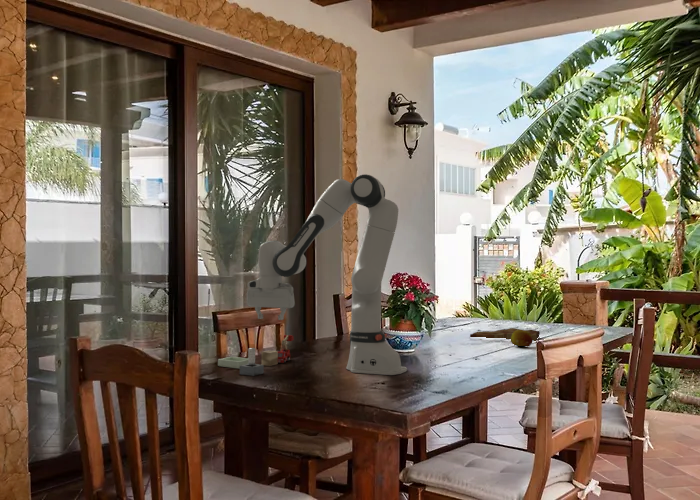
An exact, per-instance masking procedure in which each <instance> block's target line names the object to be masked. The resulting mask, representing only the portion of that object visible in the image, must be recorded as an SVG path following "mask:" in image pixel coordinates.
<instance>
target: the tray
mask: <svg viewBox="0 0 700 500" xmlns="http://www.w3.org/2000/svg"><path fill="white" fill-rule="evenodd" d="M245 364H248V357H247V358H246V357H239V356H238V357H237V356H228V357H224V358H218V359H217V366H218V367H223V368H231V369H239V370H240V366H241V365H245Z"/></svg>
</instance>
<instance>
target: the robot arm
mask: <svg viewBox="0 0 700 500" xmlns="http://www.w3.org/2000/svg"><path fill="white" fill-rule="evenodd" d="M385 197H386V190H385V187H384V185H383V184H382V183H381V181H380V180H379V179H378V178H376V177H374V176H373V175H370V174H366V173H365V174H364V173H363V174H359V175H358V176H356V177H355V178H354V179H353V180H352V182H349V180H346V179H344V178H337V179H336V180H334V181H333V182H332V183H330V185H329V186H328V187H326V189H325V190H324V192H323V193H322V194H321V195H320V197H319V198H318V200H317V201H316V203H314V206H313V208H312V210H311V212H310V213H309V215H308V217H307V219H306V220H305V222H304V223H303V225H302V226H301V228H300V229H299V231H298V232H297V233H296V234H295V235H294V237H293V238H292V239H291V241H290V242H289V243H288V244H287V245H285V244H283V243H282V242H281V241H280V240H269V241H265V242H262V243H261V244H260V245H259V249H258V267H259V272H258V278H256V279H254V280H251V281H248V282H247V287H248V288H247V290H246V291H247V292H246V305H247V306H248V307H250V308H251V307H252V308H254V311H255V313H256V314H257V320H263V319H264V313H262V312H261V310H262V308H273V309H279V311H280V314H277V319H278V320H279V321H283V320H284V319H285V317H284V316H285V314H286V312H287V309H292V308H294V307H295V305H296V303H295V302H296V301H295V295H294V287H293V285H292V284H291V283H283V277H284V278H286V277H287V278H288V277H292V276H293V275H296V274H300V273H301V272H303V271H304V269H305V268H306V266H307V257H306V255H305V252H306V251H307V249H308V248H309V247H310V246H311V244H312V243H313V241H314V240H315V239H316V238H317V237H318V236H319V235H320V234H323V233H324V232H326V231H328V230H330V229H333V228H334V226H335V225H336V224H338V223H339V221H340V220H341V219H342V217H343V216H344V215H345V213H346V212H347V211H348V209H349V208H350V207H351V206H352V205H353V204H356V205H361V206H363V207H365V208H367V209H368V216H367V221H366V225H365V228H364V232H363V236H362V239H361V243H360V246H359V250H358V253H357V256H356V260H355V263H354V266H353V270H352V273H351V278H350V281H351V285H352V286H351V316H350V317H351V318H350V325H351V326H350V327H351V328H350V331H349V345H350V346H349V347H350V348H349V355H348V361H347V365H346V367H345V368H346V369H347V371H350V372H351V373H354V374H355V373H357V374H368V375H370V374H371V375H385V376H395V375H396V376H397V375H401V374H404V373H406V372H408V368H407V367H406V366H402V362H401V356H400V354H399V353H398V351H396V350H395V349H394V348H393V347H392V346H391V345H389V344H388V343H387V342H386V338H387V337H388V336H387V335H388V334H387V333H384V332H382V328H381V327H382V282H383V281H382V280H383V278H384V274H385V270H386V268H387V264H388V263H387V262H388V258H389V255H390V251H391V248H392V245H393V241H394V238H395V237H394V236H395V233H396V229H397V226H398V225H397V224H398V217H399V207H398V205H397V203H395V202H394V201H393V200H390V199H387V198H385Z"/></svg>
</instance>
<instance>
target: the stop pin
mask: <svg viewBox="0 0 700 500" xmlns="http://www.w3.org/2000/svg"><path fill="white" fill-rule="evenodd" d="M247 358H248V366H255V364H256V347H249V348H248V355H247Z"/></svg>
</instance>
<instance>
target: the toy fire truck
mask: <svg viewBox="0 0 700 500" xmlns="http://www.w3.org/2000/svg"><path fill="white" fill-rule="evenodd" d="M294 340H295V339H294V335H292V334H291V335H289V334H288V335H287V334H283V340H281V346H282V349H281V350H277V351H278V363H283V364H285V363H286V362H289V361H290V360H291V352H290V351H291V350H290V349H288V344H287V342H293V341H294Z"/></svg>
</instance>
